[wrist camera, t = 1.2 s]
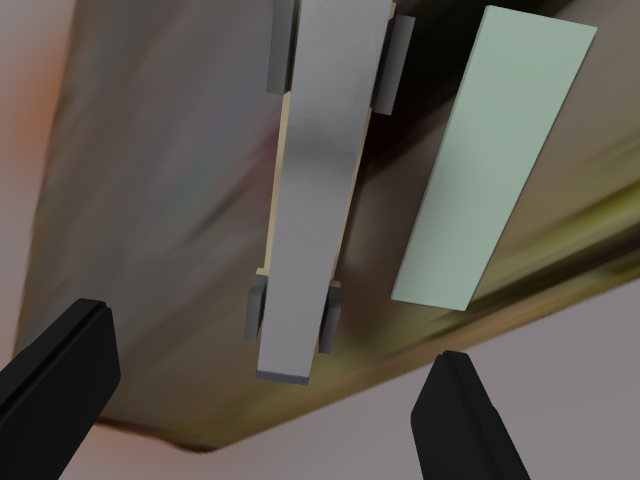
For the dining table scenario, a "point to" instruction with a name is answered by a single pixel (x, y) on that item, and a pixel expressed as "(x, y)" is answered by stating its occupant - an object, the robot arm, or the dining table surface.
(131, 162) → the dining table surface
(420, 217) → the mat
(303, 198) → the rail
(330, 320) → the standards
